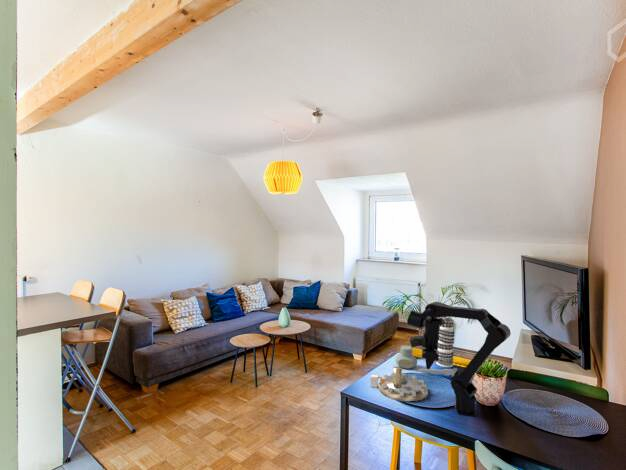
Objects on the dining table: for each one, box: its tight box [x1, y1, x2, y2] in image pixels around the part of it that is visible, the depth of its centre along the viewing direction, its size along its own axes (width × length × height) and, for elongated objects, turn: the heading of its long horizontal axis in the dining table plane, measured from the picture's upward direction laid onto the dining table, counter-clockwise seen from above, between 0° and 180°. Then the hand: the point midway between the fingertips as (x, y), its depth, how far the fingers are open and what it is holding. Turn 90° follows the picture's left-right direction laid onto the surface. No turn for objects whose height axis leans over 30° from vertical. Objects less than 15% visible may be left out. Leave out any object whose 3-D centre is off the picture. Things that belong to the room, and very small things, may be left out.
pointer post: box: [370, 374, 383, 389], centre depth 155 cm, size 5×2×5 cm, turn 74°
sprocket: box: [379, 365, 427, 397], centre depth 152 cm, size 19×19×10 cm
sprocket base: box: [378, 381, 429, 402], centre depth 152 cm, size 21×21×2 cm
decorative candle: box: [435, 316, 456, 368], centre depth 183 cm, size 9×9×25 cm
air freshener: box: [394, 345, 418, 370], centre depth 179 cm, size 11×8×10 cm
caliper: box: [416, 367, 458, 377], centre depth 168 cm, size 20×1×6 cm, turn 56°
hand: (427, 369), depth 145 cm, fingers closed
